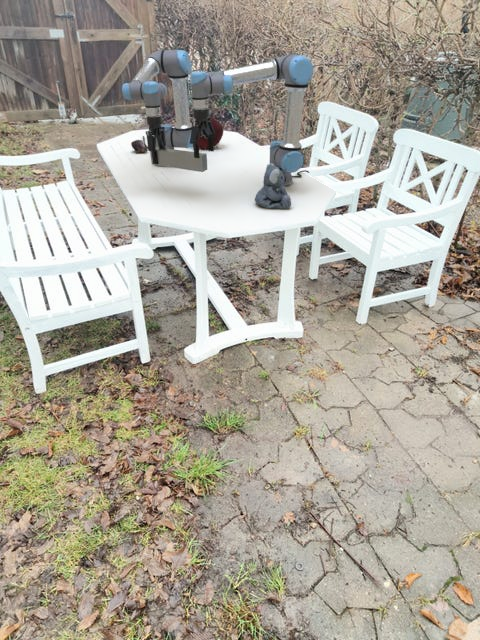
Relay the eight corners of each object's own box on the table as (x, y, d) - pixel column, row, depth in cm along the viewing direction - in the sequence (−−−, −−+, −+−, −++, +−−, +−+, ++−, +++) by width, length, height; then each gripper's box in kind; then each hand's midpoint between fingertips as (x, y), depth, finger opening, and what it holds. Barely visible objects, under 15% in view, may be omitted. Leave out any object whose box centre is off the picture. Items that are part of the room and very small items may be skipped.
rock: (144, 151, 325) (130, 152, 321) (142, 138, 322) (128, 139, 318) (149, 152, 316) (135, 153, 312) (147, 139, 312) (133, 140, 308)
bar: (151, 164, 241) (149, 149, 237) (157, 161, 245) (155, 146, 241) (202, 172, 229) (201, 156, 224) (207, 169, 233) (206, 153, 228)
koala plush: (292, 209, 224) (294, 170, 213) (256, 210, 223) (257, 171, 212) (286, 197, 238) (288, 160, 227) (252, 199, 237) (253, 161, 226)
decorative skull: (189, 122, 333) (186, 119, 309) (220, 115, 332) (219, 111, 309) (196, 152, 340) (193, 151, 316) (226, 145, 339) (226, 144, 315)
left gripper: (148, 119, 220) (154, 167, 234) (170, 113, 234) (174, 159, 247) (136, 118, 223) (142, 166, 237) (158, 112, 236) (163, 157, 250)
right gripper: (193, 114, 204) (197, 161, 216) (220, 104, 222) (222, 149, 234) (179, 112, 207) (184, 160, 219) (207, 103, 225) (210, 147, 237)
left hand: (158, 162), depth 242 cm, fingers closed on bar, 5 cm apart
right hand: (204, 154), depth 226 cm, fingers open, 13 cm apart
